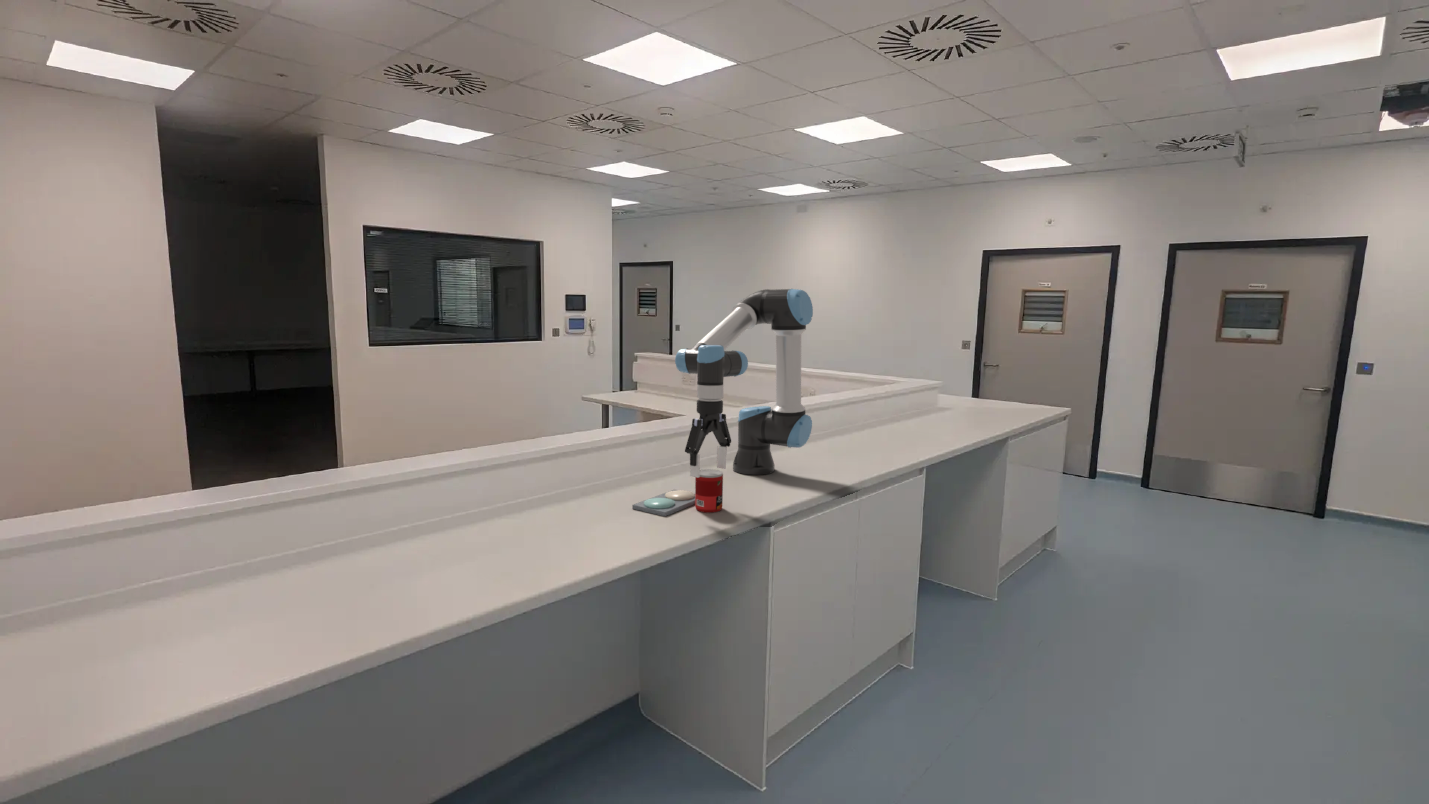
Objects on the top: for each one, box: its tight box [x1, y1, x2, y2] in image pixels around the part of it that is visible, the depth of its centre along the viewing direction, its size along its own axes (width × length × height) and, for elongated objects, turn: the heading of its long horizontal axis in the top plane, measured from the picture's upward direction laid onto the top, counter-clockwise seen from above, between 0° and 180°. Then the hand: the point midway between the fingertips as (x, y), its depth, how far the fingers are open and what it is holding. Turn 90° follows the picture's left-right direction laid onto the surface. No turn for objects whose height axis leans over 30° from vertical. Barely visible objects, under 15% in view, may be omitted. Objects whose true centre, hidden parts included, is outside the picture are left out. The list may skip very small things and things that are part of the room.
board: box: [631, 489, 695, 517], centre depth 194 cm, size 20×12×2 cm, turn 146°
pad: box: [643, 497, 675, 509], centre depth 189 cm, size 9×9×1 cm
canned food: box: [694, 468, 724, 514], centre depth 189 cm, size 8×8×11 cm
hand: (708, 472), depth 188 cm, fingers open, 13 cm apart
